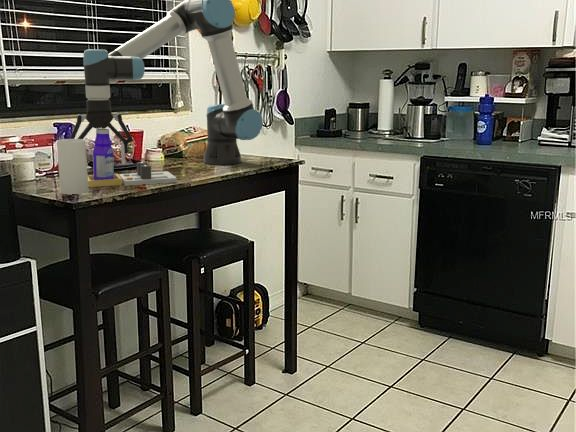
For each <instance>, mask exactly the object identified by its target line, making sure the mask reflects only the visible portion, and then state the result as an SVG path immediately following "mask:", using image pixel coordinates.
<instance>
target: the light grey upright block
mask: <svg viewBox="0 0 576 432" xmlns="http://www.w3.org/2000/svg"><path fill="white" fill-rule="evenodd" d="M86 148H87V147H86V139H85V138H84V139H77V138H74V139H69V138H64V139H63V138H62V139H58V140H56V149H57V150H56V151H57V163H58V165H57V166H58V176H59V187H60V188H59V189H60V194H61V195H65V194H67V195H66V196H68V195H69V196H73V195H72V194H78V195H83V194H82V193H84V194H88V193H89V188H90V187H88V162H87V149H86Z"/></svg>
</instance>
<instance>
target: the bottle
mask: <svg viewBox="0 0 576 432" xmlns="http://www.w3.org/2000/svg"><path fill="white" fill-rule="evenodd" d="M95 129H96V128H95ZM95 133H96V135H95V139H94V141H93V144H94V147H93V151H92V160H93V161H92V162H93V175H94V180H106V179H113V178H114V174H115V171H114V167H115V166H114V149H113V147H112V144H113V142H112V140H111V138H110V128H98V129H96V130H95Z"/></svg>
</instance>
